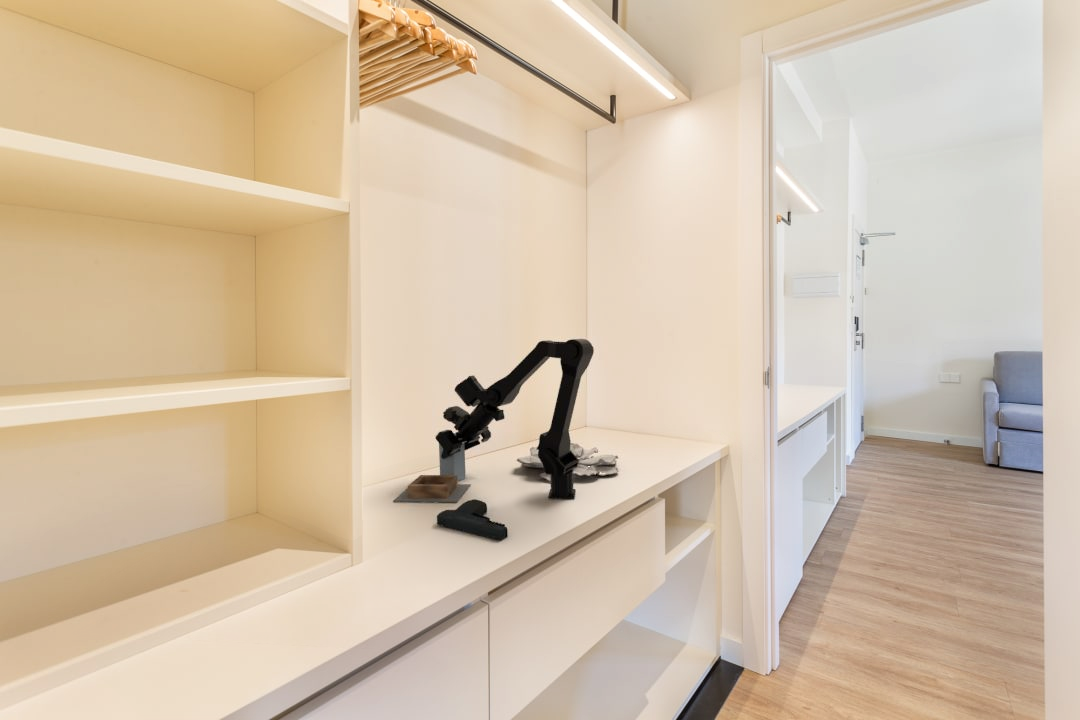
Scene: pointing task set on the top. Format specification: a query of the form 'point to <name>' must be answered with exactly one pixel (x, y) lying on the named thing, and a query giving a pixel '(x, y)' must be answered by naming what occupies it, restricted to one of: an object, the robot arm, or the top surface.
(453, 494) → the mat
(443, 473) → the tin
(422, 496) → the brown square open frame
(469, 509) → the handgun
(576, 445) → the decorative wall flower
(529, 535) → the top surface
